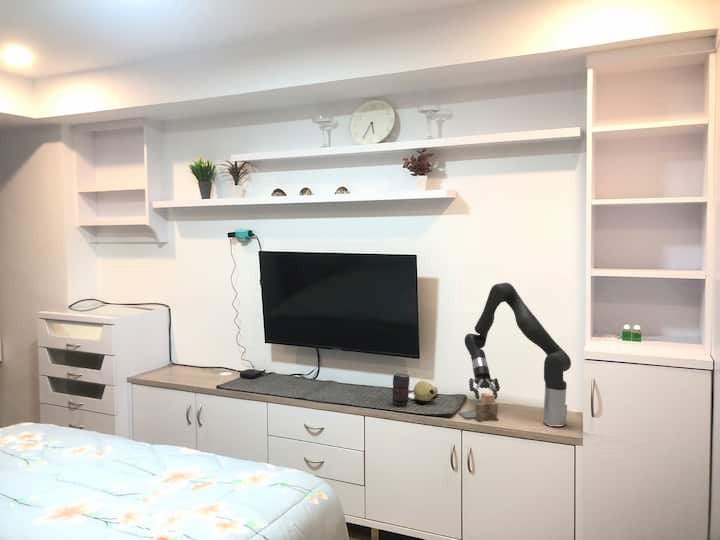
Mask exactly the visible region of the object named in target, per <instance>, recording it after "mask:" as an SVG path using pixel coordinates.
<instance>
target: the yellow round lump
mask: <svg viewBox="0 0 720 540" xmlns="http://www.w3.org/2000/svg"><path fill="white" fill-rule="evenodd" d="M438 393H439V391H438V388H437V387H436V386H433V385H432V383H430V382H428V381H425V380H420V381H418V382H416V384H415V385H414V387H413V395H414V400H418V401H420V400H425V401H427V402H429V401H431V400H432V399H433V398H434V397H436V396H437V395H438Z"/></svg>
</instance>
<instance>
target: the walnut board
mask: <svg viewBox="0 0 720 540" xmlns="http://www.w3.org/2000/svg"><path fill="white" fill-rule="evenodd" d="M498 406H499V404H498V402H495V403H485V404H481V403H476V406H475V407H476V409H475V412H476V417H475V419H474V420H475V421H477V422H479V423H482V422H484V421H495V422H498V421H499V417H498Z"/></svg>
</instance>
